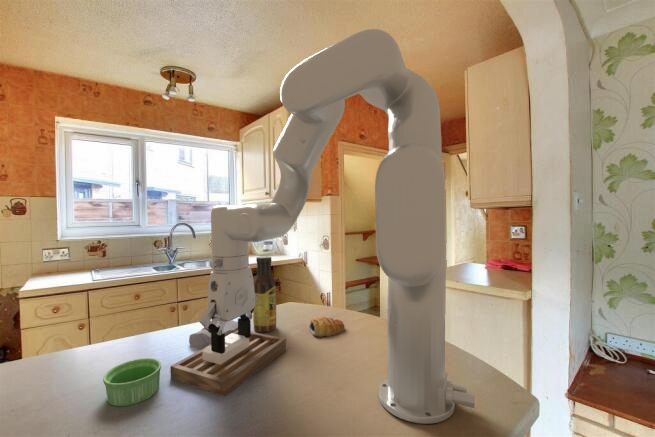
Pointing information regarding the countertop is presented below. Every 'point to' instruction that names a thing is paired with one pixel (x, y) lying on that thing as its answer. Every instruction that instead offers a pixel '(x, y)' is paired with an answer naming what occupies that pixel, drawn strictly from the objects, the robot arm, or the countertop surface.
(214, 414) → the countertop surface
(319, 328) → the pastry
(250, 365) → the drying rack
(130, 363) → the ramekin
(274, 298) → the sauce bottle
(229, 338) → the soap bar
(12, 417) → the countertop surface
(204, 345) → the stone block
